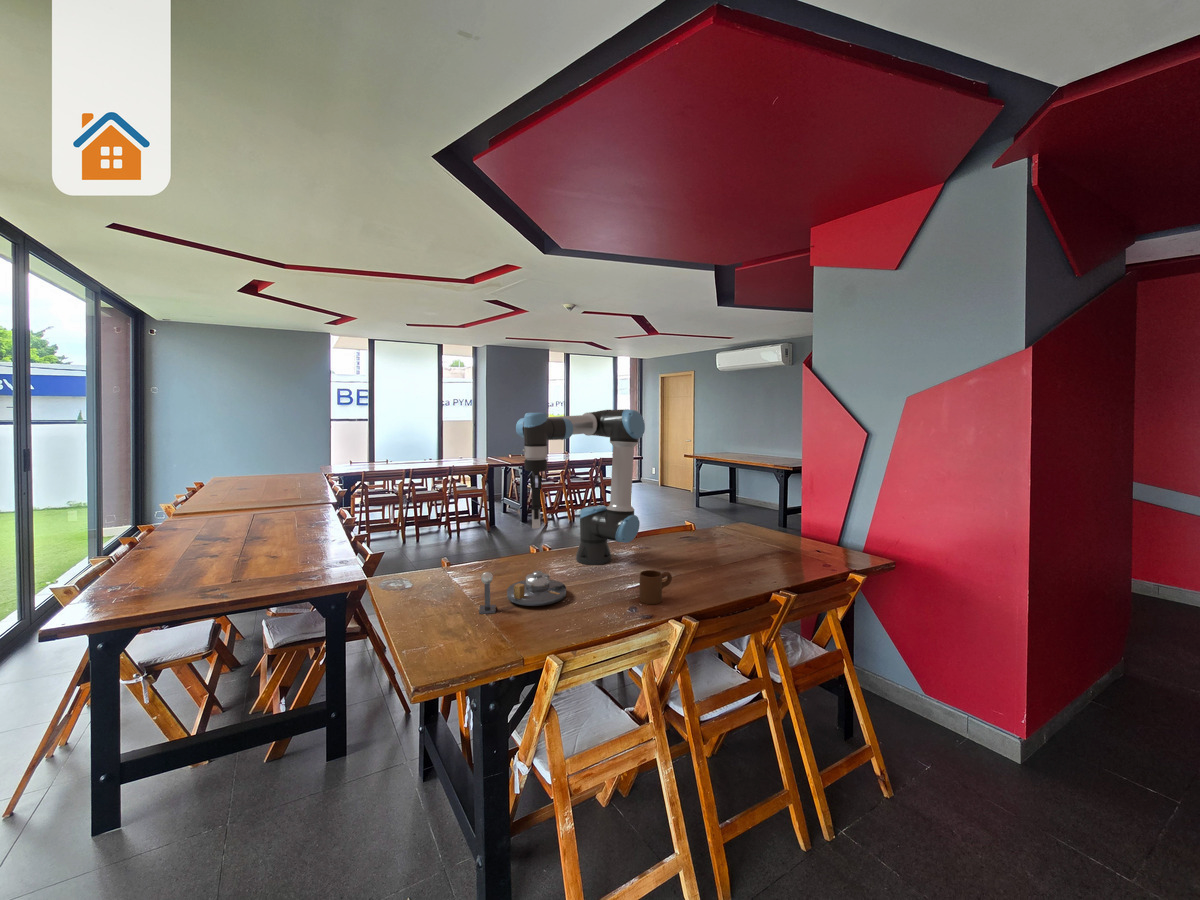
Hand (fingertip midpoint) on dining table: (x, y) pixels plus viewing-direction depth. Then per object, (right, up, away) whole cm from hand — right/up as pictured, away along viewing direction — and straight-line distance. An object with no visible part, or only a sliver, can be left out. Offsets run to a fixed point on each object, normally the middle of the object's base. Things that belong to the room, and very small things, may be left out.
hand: (536, 527), depth 166 cm
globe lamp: (-14, -25, -9) cm, 30 cm away
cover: (0, -21, +2) cm, 21 cm away
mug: (+41, -25, +1) cm, 48 cm away
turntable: (0, -23, +2) cm, 23 cm away
